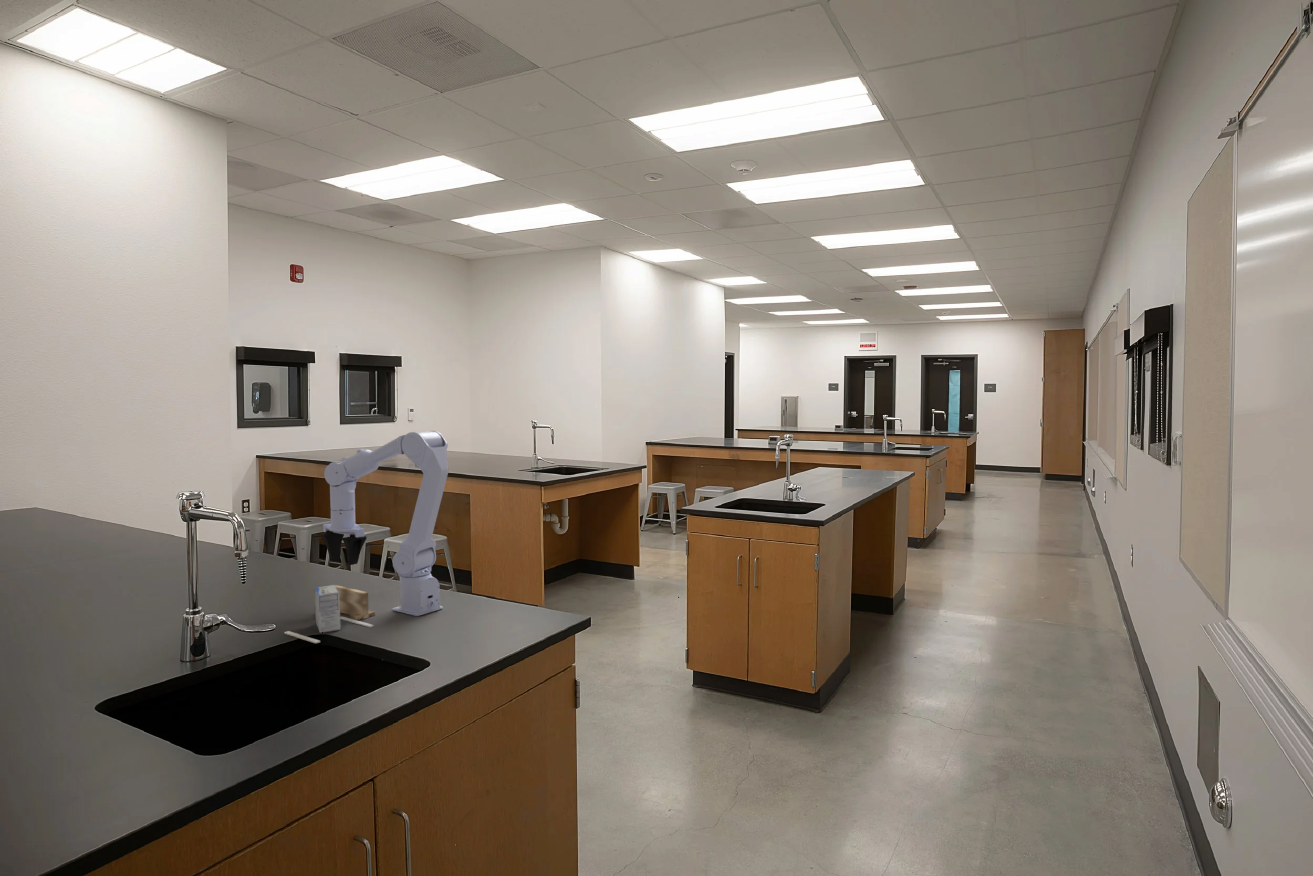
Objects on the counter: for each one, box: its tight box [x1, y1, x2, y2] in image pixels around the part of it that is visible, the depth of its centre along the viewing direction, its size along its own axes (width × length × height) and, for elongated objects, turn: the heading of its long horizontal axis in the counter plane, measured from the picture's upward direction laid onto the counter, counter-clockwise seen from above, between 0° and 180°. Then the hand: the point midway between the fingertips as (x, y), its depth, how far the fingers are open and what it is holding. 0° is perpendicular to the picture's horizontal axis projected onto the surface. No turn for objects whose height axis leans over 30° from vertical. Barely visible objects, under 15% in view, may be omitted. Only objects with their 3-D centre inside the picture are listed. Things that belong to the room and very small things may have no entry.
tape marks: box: [283, 616, 374, 644], centre depth 162 cm, size 12×14×1 cm
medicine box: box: [314, 584, 341, 634], centre depth 164 cm, size 8×4×9 cm, turn 31°
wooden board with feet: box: [328, 584, 376, 621], centre depth 175 cm, size 14×5×6 cm, turn 57°
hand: (344, 562), depth 183 cm, fingers open, 7 cm apart
